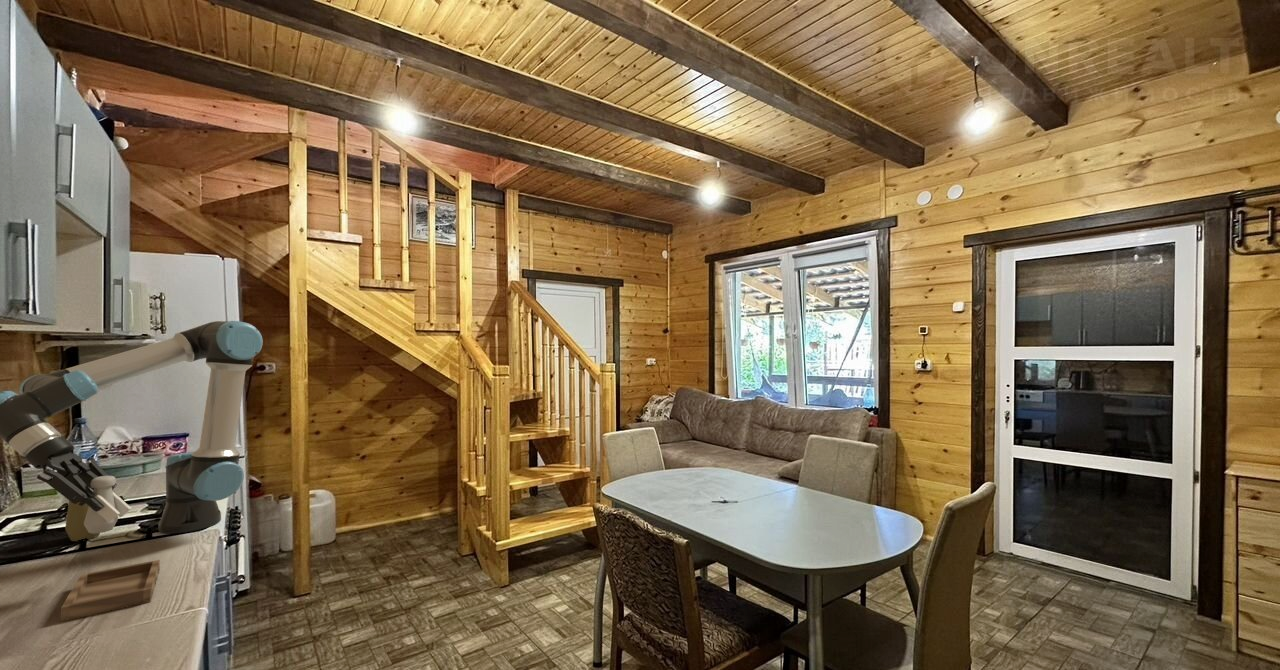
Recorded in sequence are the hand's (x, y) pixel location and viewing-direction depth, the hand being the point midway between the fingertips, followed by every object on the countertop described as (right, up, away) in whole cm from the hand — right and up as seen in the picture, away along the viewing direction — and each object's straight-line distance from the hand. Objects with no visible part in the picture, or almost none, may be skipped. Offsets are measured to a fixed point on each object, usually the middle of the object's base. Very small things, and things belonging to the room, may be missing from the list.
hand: (120, 515), depth 130 cm
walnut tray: (+4, -17, -6) cm, 18 cm away
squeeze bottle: (-37, -16, +27) cm, 49 cm away
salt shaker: (-4, -4, -1) cm, 6 cm away
